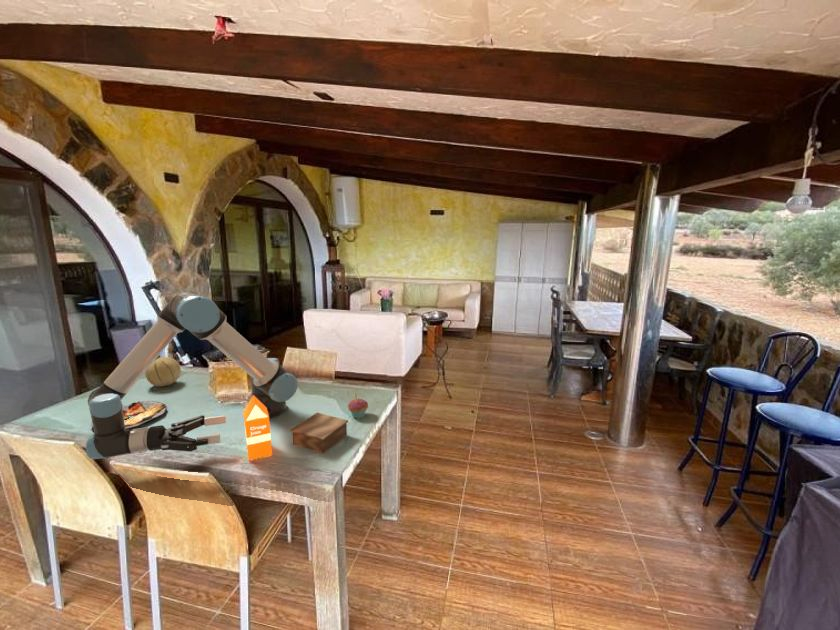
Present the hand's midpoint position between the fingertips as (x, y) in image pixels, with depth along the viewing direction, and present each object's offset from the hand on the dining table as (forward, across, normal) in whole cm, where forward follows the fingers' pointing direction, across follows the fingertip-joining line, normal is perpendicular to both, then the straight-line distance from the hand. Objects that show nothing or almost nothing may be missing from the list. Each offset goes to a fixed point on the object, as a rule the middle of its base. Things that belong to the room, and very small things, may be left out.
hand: (223, 428), depth 130 cm
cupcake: (+49, -16, -11) cm, 53 cm away
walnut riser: (+32, -2, -11) cm, 34 cm away
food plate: (-40, -44, -12) cm, 61 cm away
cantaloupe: (-37, -80, -11) cm, 89 cm away
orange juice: (+11, 0, -11) cm, 15 cm away
